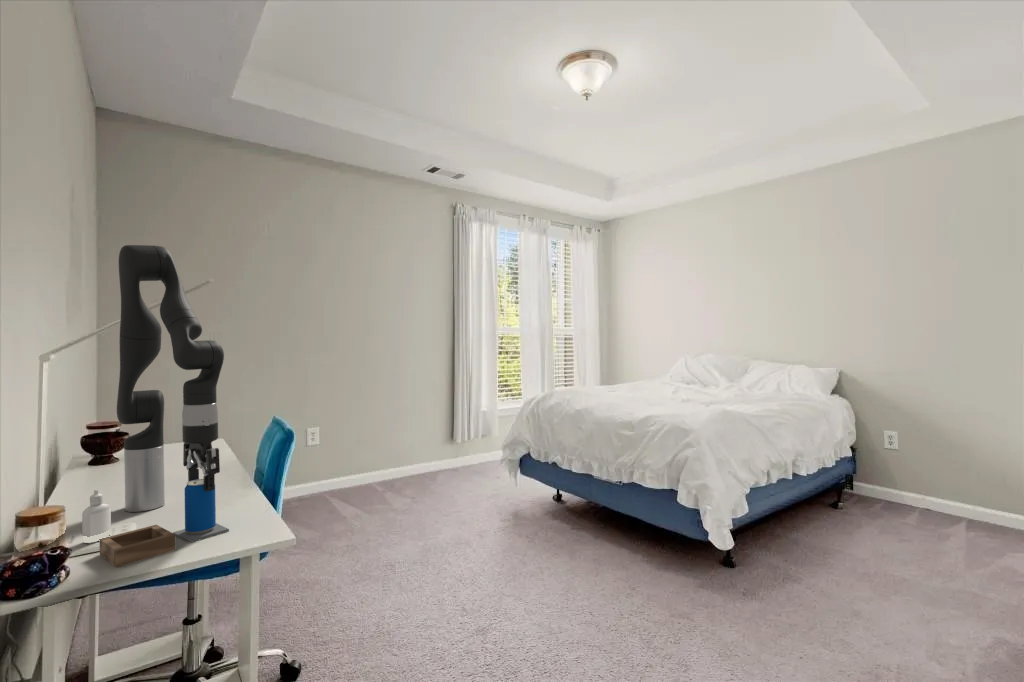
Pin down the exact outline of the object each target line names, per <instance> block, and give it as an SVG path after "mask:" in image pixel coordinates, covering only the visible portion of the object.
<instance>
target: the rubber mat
mask: <svg viewBox="0 0 1024 682" xmlns="http://www.w3.org/2000/svg"><path fill="white" fill-rule="evenodd" d="M227 531H228V532H230V530H229V527H225V526H224V525H221V524H219V523H217V522H216V525H215V527H213V528H212V530H210V531H208V532H205V533H201V534H190V533H189V532H187V531H185V528H184V529H180V530H176V531H173V532H172V533H173V534H175V537H177V538H178V537H179V539H180V538H181V540H182V539H183V540H182V541H184V540H185V542H186V541H187V542H186V543H188V542H190V543H193V542H192V541H194V542H196V540H197V541H199V539H201V540H204V539H207V538H210V536H211V537H214V536H217V534H218V535H220V533H221V534H223V532H224V533H227ZM203 538H204V539H203Z"/></svg>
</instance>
